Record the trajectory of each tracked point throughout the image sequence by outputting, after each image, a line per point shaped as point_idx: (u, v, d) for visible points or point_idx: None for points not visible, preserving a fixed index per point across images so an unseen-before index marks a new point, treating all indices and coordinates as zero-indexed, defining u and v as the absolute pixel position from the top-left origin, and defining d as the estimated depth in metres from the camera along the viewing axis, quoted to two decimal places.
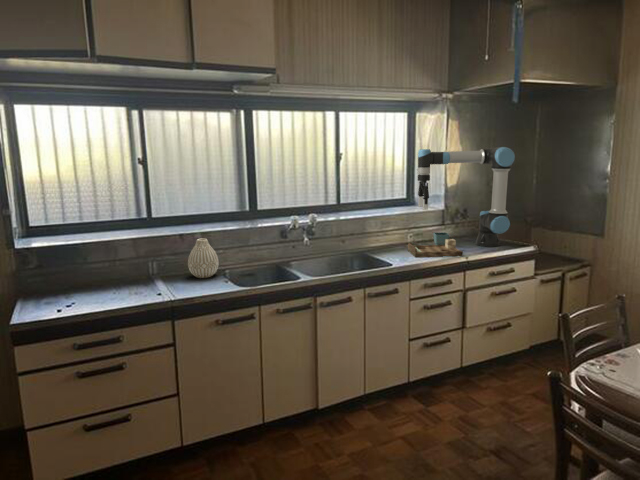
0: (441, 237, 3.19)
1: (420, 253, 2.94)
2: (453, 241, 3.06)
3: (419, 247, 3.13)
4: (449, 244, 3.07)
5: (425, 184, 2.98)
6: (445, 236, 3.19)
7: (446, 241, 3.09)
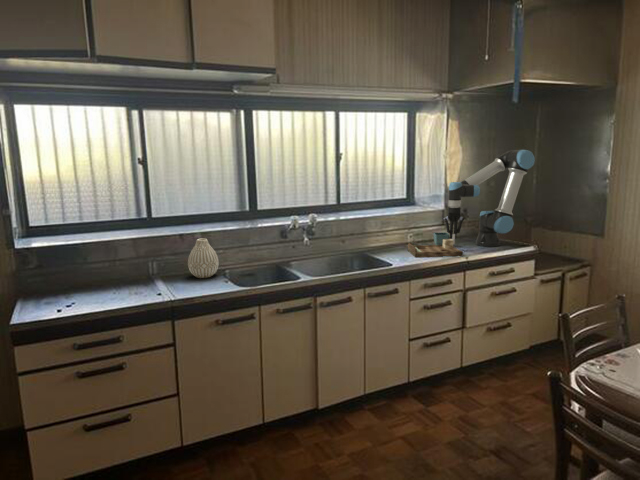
0: (441, 237, 3.19)
1: (420, 253, 2.94)
2: (450, 241, 3.06)
3: (419, 247, 3.13)
4: (446, 244, 3.06)
5: (444, 220, 3.06)
6: (445, 236, 3.19)
7: (443, 241, 3.09)
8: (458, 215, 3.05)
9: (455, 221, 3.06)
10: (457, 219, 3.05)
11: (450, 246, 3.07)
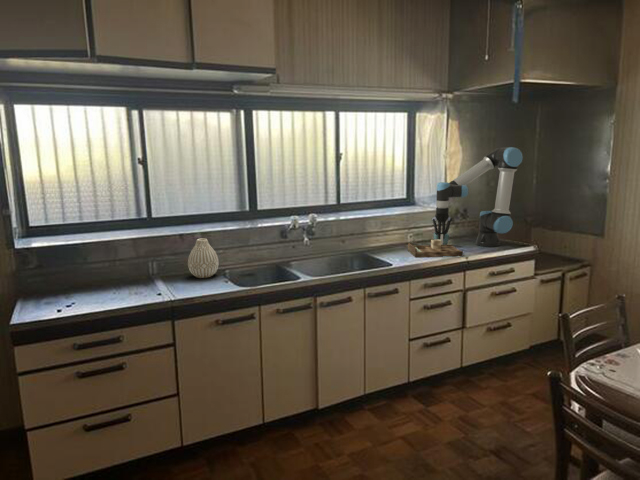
0: None
1: (420, 253, 2.94)
2: (438, 241, 3.06)
3: (419, 247, 3.13)
4: (434, 244, 3.06)
5: (432, 220, 3.06)
6: (445, 236, 3.19)
7: (432, 241, 3.08)
8: (446, 215, 3.04)
9: (443, 221, 3.05)
10: (445, 219, 3.04)
11: (438, 246, 3.06)
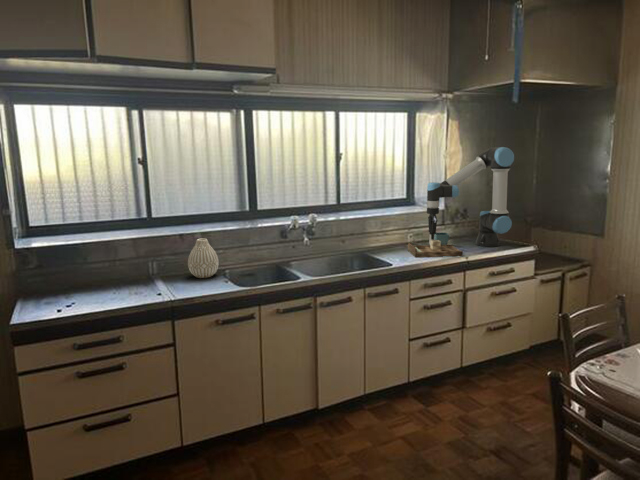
0: (441, 237, 3.19)
1: (420, 253, 2.94)
2: (438, 242, 3.04)
3: (419, 247, 3.13)
4: (434, 245, 3.04)
5: (434, 221, 3.01)
6: (445, 236, 3.19)
7: (431, 242, 3.06)
8: None
9: None
10: None
11: (438, 247, 3.04)
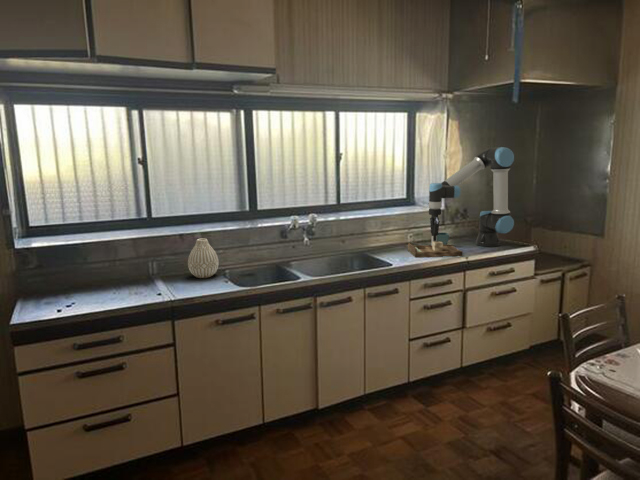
0: (441, 237, 3.19)
1: (420, 253, 2.94)
2: (440, 243, 2.99)
3: (419, 247, 3.13)
4: (436, 247, 3.00)
5: (436, 222, 2.96)
6: (445, 236, 3.19)
7: (433, 243, 3.02)
8: None
9: None
10: None
11: (440, 249, 3.00)
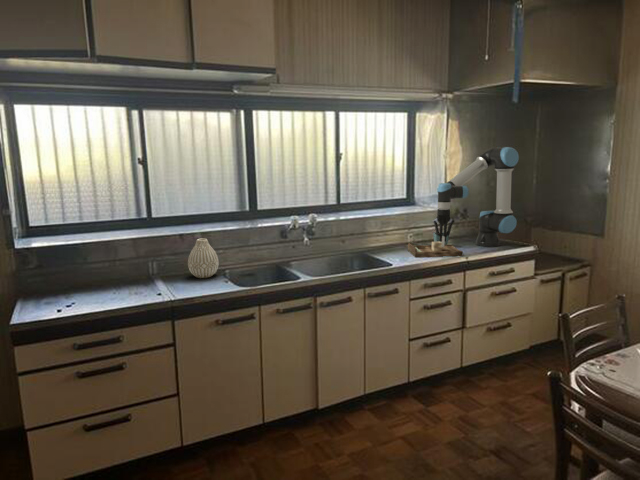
0: None
1: (420, 253, 2.94)
2: (439, 244, 2.99)
3: (419, 247, 3.13)
4: (435, 247, 2.99)
5: (433, 222, 2.98)
6: None
7: (432, 244, 3.02)
8: (448, 217, 2.96)
9: (445, 223, 2.97)
10: (447, 221, 2.96)
11: (439, 249, 3.00)
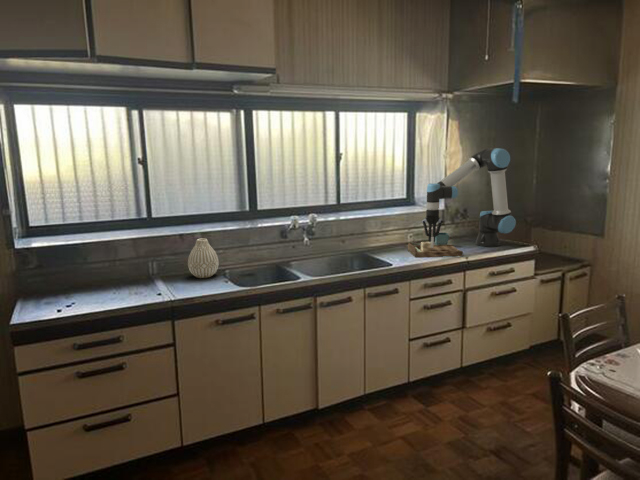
0: (441, 237, 3.19)
1: (420, 253, 2.94)
2: (428, 244, 2.99)
3: (419, 247, 3.13)
4: (424, 247, 2.99)
5: (422, 222, 2.98)
6: (445, 236, 3.19)
7: (421, 244, 3.01)
8: (436, 217, 2.96)
9: (433, 224, 2.97)
10: (435, 222, 2.96)
11: (428, 249, 2.99)
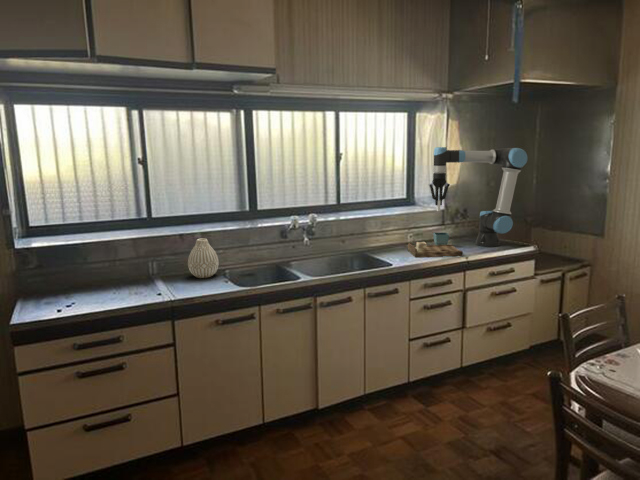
0: (441, 237, 3.19)
1: (420, 253, 2.94)
2: (424, 244, 2.99)
3: None
4: (420, 247, 2.99)
5: (429, 186, 3.01)
6: (445, 236, 3.19)
7: (417, 244, 3.01)
8: (443, 181, 3.00)
9: (440, 187, 3.01)
10: (442, 185, 3.00)
11: (424, 249, 2.99)
